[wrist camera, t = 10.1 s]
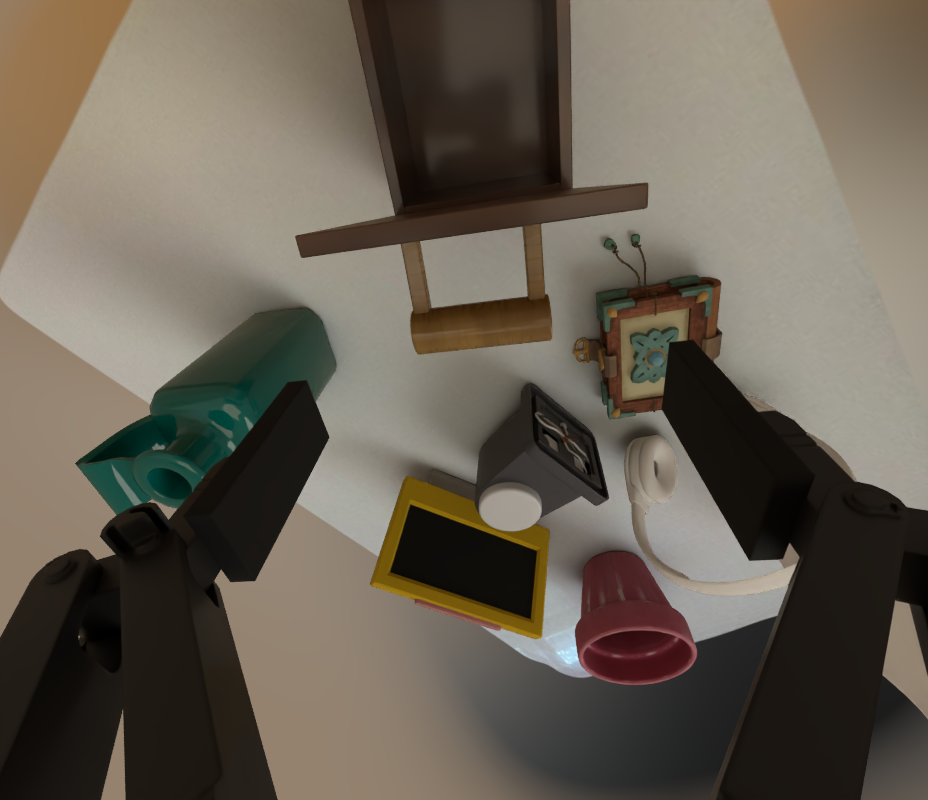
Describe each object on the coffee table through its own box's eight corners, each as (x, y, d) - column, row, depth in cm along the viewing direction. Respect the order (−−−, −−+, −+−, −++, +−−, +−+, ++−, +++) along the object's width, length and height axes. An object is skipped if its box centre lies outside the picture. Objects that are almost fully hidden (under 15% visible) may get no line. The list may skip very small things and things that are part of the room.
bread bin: (369, -36, 31) (329, -87, 23) (549, -78, 29) (568, -147, 22) (414, 201, 39) (396, 220, 31) (557, 179, 37) (572, 193, 30)
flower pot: (568, 601, 69) (582, 688, 59) (561, 543, 62) (575, 631, 51) (661, 595, 67) (693, 685, 56) (665, 535, 60) (703, 625, 49)
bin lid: (294, 235, 16) (335, 379, 18) (648, 182, 14) (642, 347, 17) (393, 215, 31) (409, 296, 33) (573, 188, 29) (576, 275, 32)
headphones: (597, 444, 52) (645, 596, 35) (752, 362, 45) (906, 503, 28) (625, 480, 55) (683, 637, 38) (776, 407, 48) (929, 561, 31)
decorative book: (716, 216, 38) (744, 227, 34) (702, 385, 47) (722, 411, 43) (563, 247, 40) (571, 262, 36) (577, 403, 49) (585, 429, 45)
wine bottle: (787, 482, 54) (1047, 800, 28) (855, 498, 54) (1168, 822, 29) (742, 531, 59) (930, 839, 33) (805, 546, 59) (1035, 857, 34)
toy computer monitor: (547, 509, 59) (563, 622, 45) (519, 543, 63) (526, 655, 49) (411, 456, 55) (385, 562, 42) (390, 495, 59) (360, 603, 46)
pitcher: (318, 304, 45) (194, 433, 26) (342, 375, 49) (249, 528, 31) (231, 314, 46) (52, 444, 27) (261, 383, 50) (126, 534, 32)
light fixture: (457, 440, 54) (446, 508, 45) (534, 375, 47) (538, 439, 39) (520, 484, 57) (521, 555, 48) (599, 429, 51) (617, 500, 42)
